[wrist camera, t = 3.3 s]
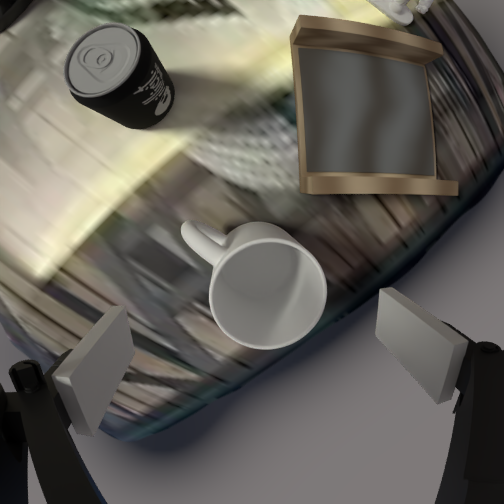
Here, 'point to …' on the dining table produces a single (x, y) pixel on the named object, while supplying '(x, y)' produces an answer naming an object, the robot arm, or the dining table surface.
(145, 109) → the beverage can
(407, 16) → the figurine
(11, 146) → the dining table surface
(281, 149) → the dining table surface
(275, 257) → the mug
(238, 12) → the dining table surface
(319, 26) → the wooden tray
